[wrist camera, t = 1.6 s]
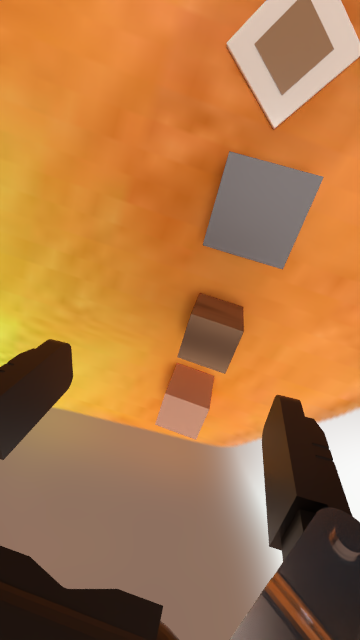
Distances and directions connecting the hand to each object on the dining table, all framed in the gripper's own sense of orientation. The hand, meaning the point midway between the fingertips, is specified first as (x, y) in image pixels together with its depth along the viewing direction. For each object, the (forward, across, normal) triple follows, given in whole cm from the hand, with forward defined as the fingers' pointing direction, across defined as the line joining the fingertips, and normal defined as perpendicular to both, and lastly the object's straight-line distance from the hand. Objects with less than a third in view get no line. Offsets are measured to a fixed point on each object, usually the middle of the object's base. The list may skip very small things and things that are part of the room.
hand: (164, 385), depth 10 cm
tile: (+20, -3, -17) cm, 27 cm away
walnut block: (+20, -1, +6) cm, 21 cm away
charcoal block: (+20, -3, -6) cm, 21 cm away
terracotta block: (+20, 0, +16) cm, 26 cm away
